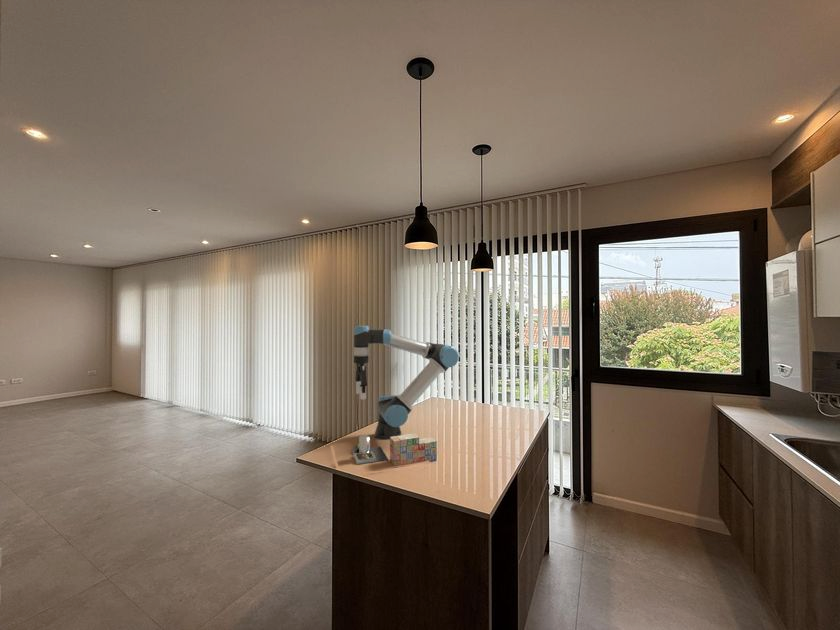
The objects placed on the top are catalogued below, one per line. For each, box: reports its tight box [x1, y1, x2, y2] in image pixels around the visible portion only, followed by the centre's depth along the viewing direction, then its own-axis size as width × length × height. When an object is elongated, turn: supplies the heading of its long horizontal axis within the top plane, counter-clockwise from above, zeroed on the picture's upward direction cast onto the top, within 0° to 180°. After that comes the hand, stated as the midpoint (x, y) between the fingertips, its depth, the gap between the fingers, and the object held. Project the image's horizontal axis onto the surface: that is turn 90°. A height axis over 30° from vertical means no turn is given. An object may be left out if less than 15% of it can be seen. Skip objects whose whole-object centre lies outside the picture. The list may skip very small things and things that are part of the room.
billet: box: [358, 434, 371, 460], centre depth 159 cm, size 5×5×10 cm
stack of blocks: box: [389, 433, 438, 469], centre depth 158 cm, size 21×6×12 cm, turn 113°
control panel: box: [350, 444, 390, 466], centre depth 163 cm, size 15×19×4 cm
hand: (360, 396), depth 175 cm, fingers open, 13 cm apart
